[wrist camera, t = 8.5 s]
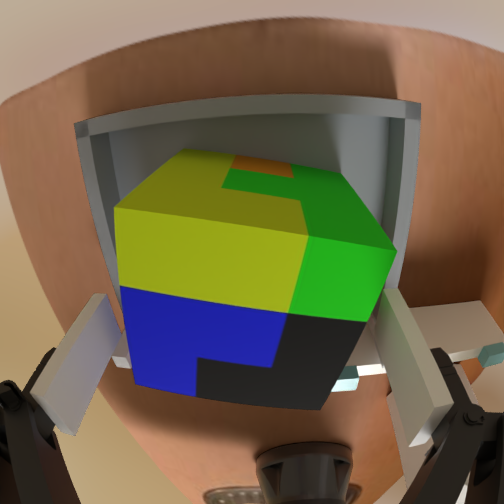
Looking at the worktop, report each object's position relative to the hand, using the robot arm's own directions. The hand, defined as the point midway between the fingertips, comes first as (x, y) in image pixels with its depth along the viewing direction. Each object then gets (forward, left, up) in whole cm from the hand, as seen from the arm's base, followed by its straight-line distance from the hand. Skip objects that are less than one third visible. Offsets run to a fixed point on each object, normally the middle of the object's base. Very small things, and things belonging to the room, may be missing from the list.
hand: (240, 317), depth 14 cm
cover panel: (-9, -13, -9) cm, 18 cm away
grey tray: (+1, 0, -9) cm, 9 cm away
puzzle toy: (0, 0, -9) cm, 9 cm away
